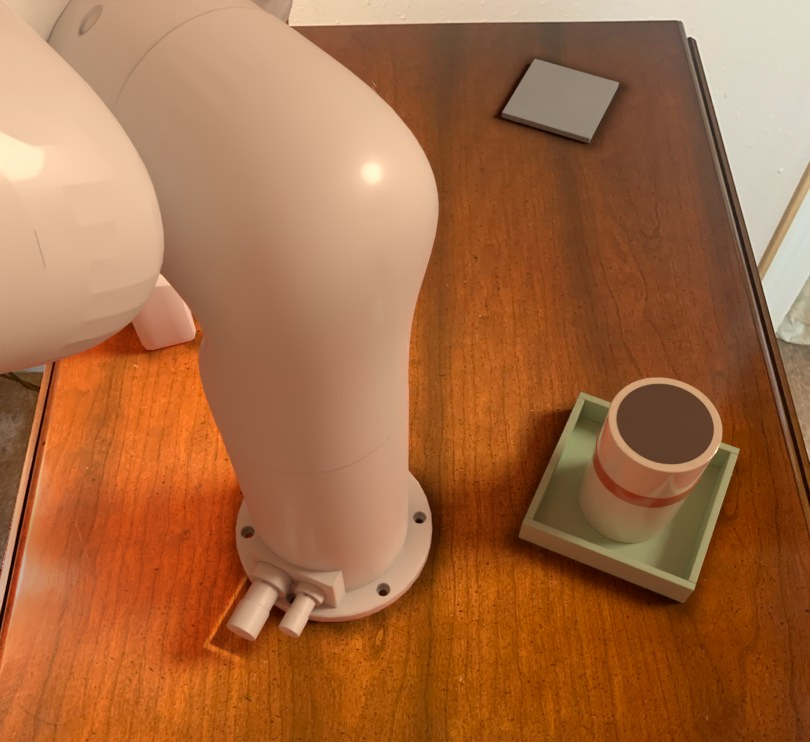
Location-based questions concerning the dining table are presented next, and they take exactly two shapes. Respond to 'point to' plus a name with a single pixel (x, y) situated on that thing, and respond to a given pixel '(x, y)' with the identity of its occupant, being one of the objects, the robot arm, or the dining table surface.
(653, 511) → the tumbler
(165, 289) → the pepper shaker
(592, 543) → the tray
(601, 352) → the dining table surface
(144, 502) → the dining table surface
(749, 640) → the dining table surface
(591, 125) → the mat
